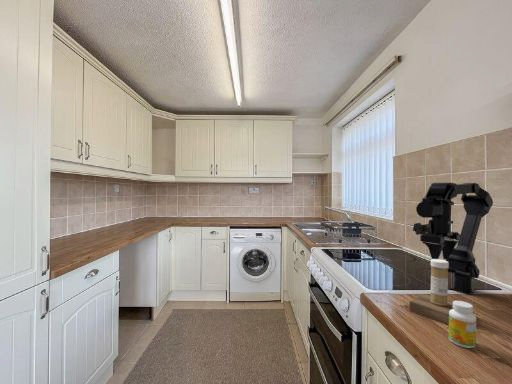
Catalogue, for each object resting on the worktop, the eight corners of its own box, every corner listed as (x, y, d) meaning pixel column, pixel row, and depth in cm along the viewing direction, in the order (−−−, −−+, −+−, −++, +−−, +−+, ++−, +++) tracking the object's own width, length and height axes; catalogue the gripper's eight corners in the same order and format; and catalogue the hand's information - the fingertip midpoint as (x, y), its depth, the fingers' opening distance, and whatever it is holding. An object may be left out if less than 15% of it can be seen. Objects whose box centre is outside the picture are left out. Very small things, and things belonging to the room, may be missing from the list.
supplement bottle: (443, 336, 68) (443, 299, 68) (462, 336, 69) (463, 299, 69) (461, 349, 63) (461, 308, 63) (481, 348, 63) (482, 308, 63)
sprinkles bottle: (446, 302, 83) (447, 259, 83) (449, 307, 79) (450, 263, 79) (428, 299, 85) (429, 257, 85) (430, 304, 81) (431, 261, 81)
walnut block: (427, 302, 90) (427, 293, 90) (470, 316, 80) (471, 306, 80) (409, 310, 83) (409, 301, 83) (454, 327, 73) (454, 316, 73)
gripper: (428, 214, 107) (426, 253, 106) (405, 216, 96) (404, 258, 96) (461, 217, 97) (460, 259, 97) (440, 219, 87) (439, 266, 87)
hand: (440, 260), depth 94 cm, fingers open, 9 cm apart
